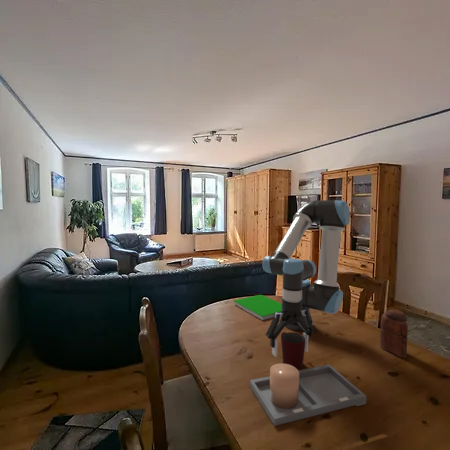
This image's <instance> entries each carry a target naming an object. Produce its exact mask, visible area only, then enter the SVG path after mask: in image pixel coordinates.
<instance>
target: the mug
mask: <svg viewBox="0 0 450 450" xmlns="http://www.w3.org/2000/svg"><path fill="white" fill-rule="evenodd" d="M280 343H281V353H282V354H281V356H282V363H283V364H289V365H291V366H293V367H295V368H296V369H297V370H301V368H302V367H303V366H304V356H305V337H304V336H303V334H300V333H297V332H293V331H292V332H289V331H288V332H286V331H281V333H280Z"/></svg>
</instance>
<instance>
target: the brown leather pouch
mask: <svg viewBox="0 0 450 450" xmlns="http://www.w3.org/2000/svg"><path fill="white" fill-rule="evenodd" d="M407 321H408V319H407V316H406V314H405V313H404V312H402V311H401V310H399V309H389V310H387V311H386V312H384V313H383V314H382V315H381V320H380V333H379V334H380V335H379V337H380V338H379V339H380V340H379V341H380V342H379V343H380V344H379V347H380V348H382V350H384V351H386V352H389V353H390V354H393V355H395V356H398V357H399V358H402V359H405V358H406V357H407V351H408V332H409V330H408V323H407Z"/></svg>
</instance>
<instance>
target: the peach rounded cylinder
mask: <svg viewBox="0 0 450 450" xmlns="http://www.w3.org/2000/svg"><path fill="white" fill-rule="evenodd" d="M269 376H270V401H271V402H272V403H273V404H274V405H275V406H277V407H279V408H283V409H291V408H294V407H296V406H297V404H298V398H299V369H296V368H295V367H293V366H291V365H289V364H283V362H282V363H281V362H280V363H276V364H273V365H272V366H271V367H270V368H269Z"/></svg>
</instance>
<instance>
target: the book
mask: <svg viewBox="0 0 450 450" xmlns="http://www.w3.org/2000/svg"><path fill="white" fill-rule="evenodd" d="M234 304H235V306H236V305H237V306H236V307H237V308H240V309H241V308H242V309H241V310H243V311H245V312H247V313H249V314H250V315H252V316H254V317H256V318H257V319H259V320H261V321H265V320H269V319H273V318H274V313H275V312H277V313H281V312H282V302H279V301H276V300H274V299H273V298H270V297H267V296H265V295H263V294H257V295H253V296H249V297H243V298H239V299H234V300H233V305H234Z"/></svg>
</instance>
